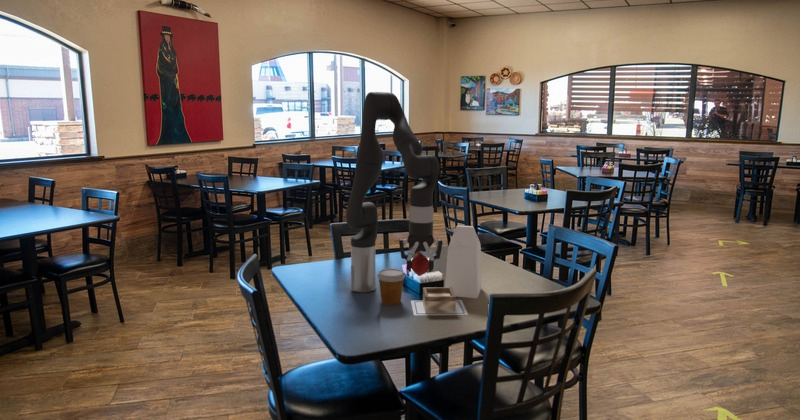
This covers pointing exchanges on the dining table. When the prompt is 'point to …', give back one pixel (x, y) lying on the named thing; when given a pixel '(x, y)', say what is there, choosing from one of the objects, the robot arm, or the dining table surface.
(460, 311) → the board
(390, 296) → the disposable coffee cup
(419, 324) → the dining table surface
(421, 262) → the red round fruit
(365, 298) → the dining table surface
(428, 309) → the square wooden tray
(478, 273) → the milk
